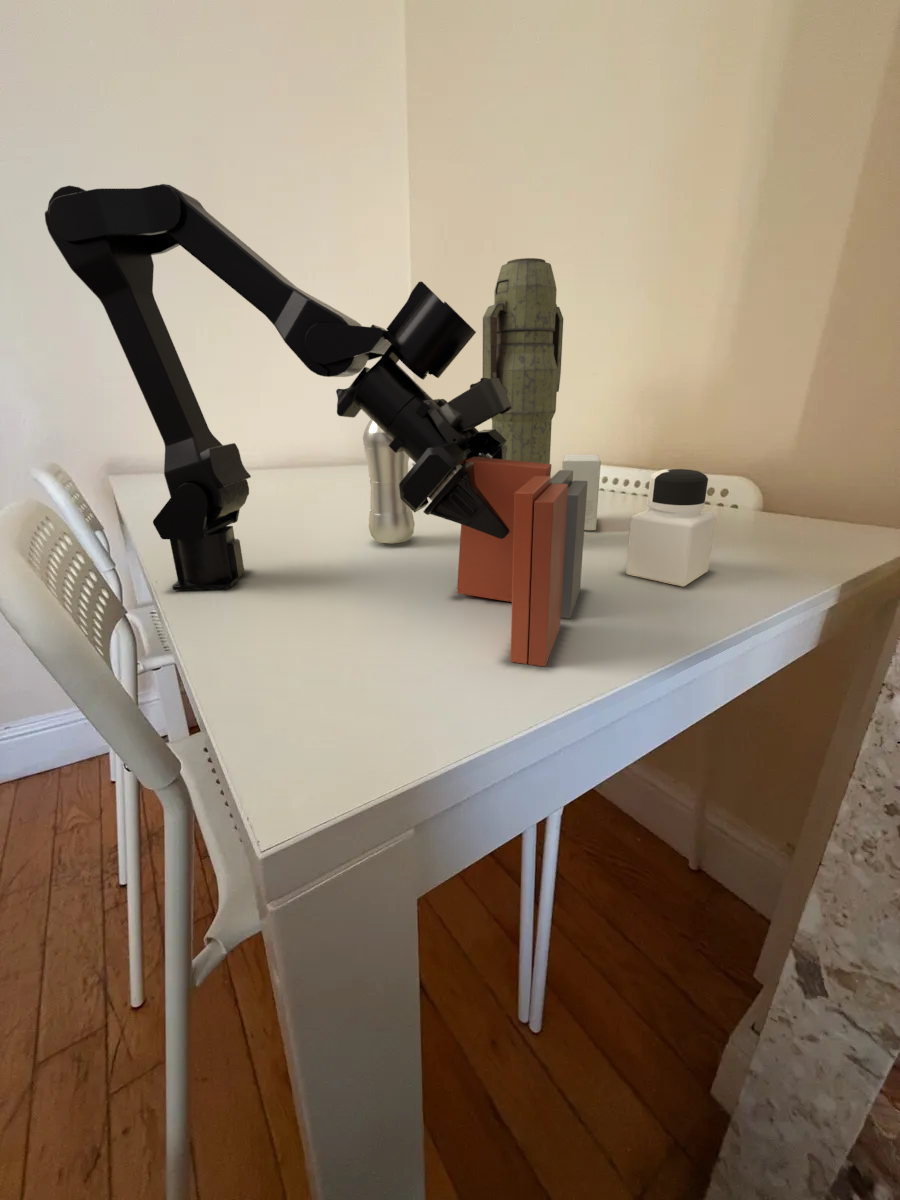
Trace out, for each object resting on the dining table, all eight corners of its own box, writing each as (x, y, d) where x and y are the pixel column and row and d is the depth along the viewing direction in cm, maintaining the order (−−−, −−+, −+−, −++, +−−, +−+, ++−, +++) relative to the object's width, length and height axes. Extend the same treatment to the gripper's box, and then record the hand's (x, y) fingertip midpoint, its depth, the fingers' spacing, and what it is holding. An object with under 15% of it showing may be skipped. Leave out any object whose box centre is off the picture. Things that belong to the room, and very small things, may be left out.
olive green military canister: (466, 543, 81) (464, 262, 69) (523, 529, 88) (531, 272, 76) (511, 556, 75) (518, 249, 62) (568, 540, 82) (585, 261, 69)
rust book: (456, 593, 61) (464, 459, 55) (463, 584, 63) (472, 456, 58) (531, 605, 59) (547, 468, 53) (535, 595, 61) (551, 464, 56)
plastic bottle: (424, 539, 83) (419, 395, 76) (395, 551, 78) (387, 396, 71) (389, 534, 87) (381, 395, 80) (360, 544, 81) (349, 396, 74)
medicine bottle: (708, 572, 67) (724, 469, 63) (684, 588, 63) (699, 478, 58) (651, 560, 72) (662, 464, 68) (624, 574, 67) (634, 471, 63)
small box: (595, 531, 86) (601, 460, 82) (558, 530, 87) (562, 460, 83) (594, 519, 94) (599, 454, 90) (559, 518, 95) (563, 453, 91)
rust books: (510, 662, 47) (514, 492, 42) (529, 624, 54) (534, 475, 49) (545, 666, 46) (553, 494, 41) (560, 628, 53) (568, 476, 48)
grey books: (540, 615, 56) (546, 482, 51) (553, 589, 63) (559, 470, 58) (570, 619, 55) (578, 484, 50) (579, 591, 62) (588, 470, 57)
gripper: (420, 344, 45) (559, 482, 46) (484, 351, 62) (586, 453, 62) (346, 448, 51) (470, 571, 51) (423, 430, 67) (517, 523, 67)
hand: (517, 523), depth 58 cm, fingers open, 9 cm apart
